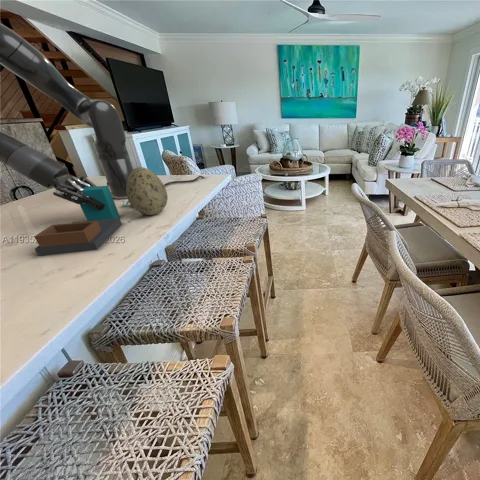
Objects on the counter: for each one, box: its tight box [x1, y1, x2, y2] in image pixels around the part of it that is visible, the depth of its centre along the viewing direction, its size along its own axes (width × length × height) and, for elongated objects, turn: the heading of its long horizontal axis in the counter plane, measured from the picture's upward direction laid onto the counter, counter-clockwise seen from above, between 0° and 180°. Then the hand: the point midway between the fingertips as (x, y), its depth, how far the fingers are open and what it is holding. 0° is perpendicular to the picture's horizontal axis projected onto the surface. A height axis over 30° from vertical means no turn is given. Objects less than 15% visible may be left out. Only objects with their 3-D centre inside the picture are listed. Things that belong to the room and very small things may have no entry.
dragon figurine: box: [121, 200, 130, 207], centre depth 92 cm, size 6×7×8 cm
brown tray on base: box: [33, 217, 123, 257], centre depth 69 cm, size 16×12×5 cm
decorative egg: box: [126, 166, 169, 216], centre depth 83 cm, size 11×11×15 cm
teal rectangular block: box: [76, 185, 120, 221], centre depth 79 cm, size 4×7×10 cm, turn 105°
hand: (106, 205), depth 80 cm, fingers closed on teal rectangular block, 4 cm apart
